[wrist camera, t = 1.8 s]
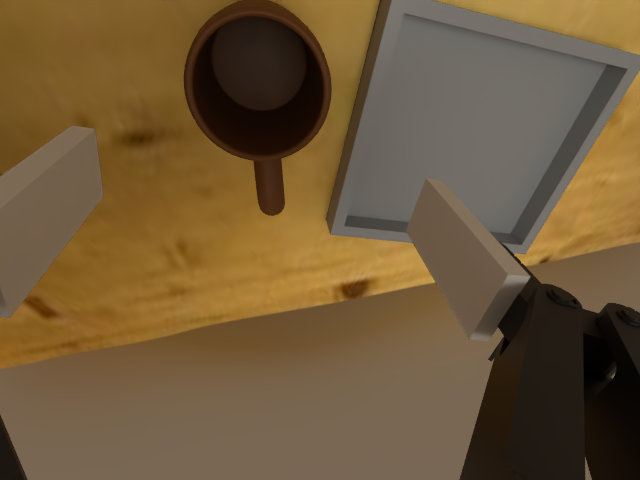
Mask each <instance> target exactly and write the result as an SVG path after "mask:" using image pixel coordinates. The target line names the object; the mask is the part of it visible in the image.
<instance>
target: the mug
mask: <svg viewBox="0 0 640 480" xmlns="http://www.w3.org/2000/svg"><path fill="white" fill-rule="evenodd" d="M184 89H185V96H186V99H187V103H188V106H189V109H190V111H191V114H192V116H193V118H194V119H195V121H196V123H197V125H198V126H199V127H200V129H201V130H202V132H203V133H204V134H205V135H206V136H207V137H208V138H209V139H210V140H211V141H212V142H213V143H215V144H216V145H217V146H218V147H220V148H221V149H223V150H224V151H226V152H228V153H230V154H232V155H235V156H237V157H240V158H244V159H248V160H254V170H255V180H256V189H257V197H258V203H259V207H260V209H261V211H262V212H263V213H265V214H267V215H271V216H274V215H277V214H279V213H280V212H282V210H283V209H284V205H285V199H284V186H283V174H282V163H281V158H284V157H287V156H289V155H292V154H293V153H295V152H297V151H299V150H300V149H302V148H303V147H305V146H306V145H307V144H308V143H309V142H310V141H311V140H312V139H313V138H314V137H315V136H316V134H317V133H318V132H319V130H320V128H321V127H322V125H323V123H324V121H325V119H326V116H327V113H328V110H329V106H330V101H331V77H330V72H329V68H328V65H327V61H326V58H325V56H324V53H323V51H322V49H321V46H320V44H319V43H318V41H317V39H316V38H315V36H314V35H313V33H312V32H311V31H310V30H309V28H308V27H307V26H306V25H305V24H304V23H303V22H302V21H301V20H300V19H299V18H297V17H296V16H295V15H294V14H293V13H291V12H290V11H288V10H287V9H286V8H284V7H282V6H280V5H278V4H276V3H273V2H271V1H267V0H243V1H239V2H236V3H234V4H232V5H230V6H227V7H226V8H224V9H223V10H221V11H219V12H218V13H216V14H215V15H214V16H212V17H211V18H210V19H209V20H208V21H207V22H206V23H205V24H204V26H203V27H202V28H201V29H200V30H199V32H198V34H197V35H196V37H195V39H194V41H193V43H192V46H191V48H190V50H189V53H188V56H187V60H186V64H185V70H184Z"/></svg>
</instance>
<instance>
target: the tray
mask: <svg viewBox="0 0 640 480" xmlns="http://www.w3.org/2000/svg"><path fill="white" fill-rule="evenodd" d="M639 70H640V55H638V54H634V53H630V52H626V51H622V50H619V49H615V48H611V47H607V46H603V45H600V44H596V43H592V42H588V41H585V40H581V39H577V38H573V37H569V36H566V35H562V34H558V33H554V32H550V31H547V30H543V29H539V28H535V27H531V26H528V25H524V24H520V23H516V22H512V21H509V20H505V19H501V18H497V17H493V16H490V15H486V14H482V13H478V12H474V11H471V10H467V9H463V8H459V7H455V6H452V5H448V4H444V3H440V2H436V1H433V0H380V3H379V7H378V11H377V16H376V20H375V24H374V28H373V32H372V36H371V40H370V44H369V48H368V52H367V56H366V60H365V64H364V68H363V72H362V76H361V80H360V84H359V88H358V92H357V96H356V100H355V104H354V108H353V112H352V117H351V121H350V125H349V129H348V133H347V137H346V141H345V145H344V149H343V153H342V157H341V161H340V165H339V169H338V173H337V177H336V181H335V185H334V189H333V193H332V197H331V201H330V205H329V209H328V214H327V218H326V221H327V224H328V228H329V231H330V235H339V236H349V237H358V238H368V239H378V240H388V241H398V242H408V243H413V242H412V241H411V239H410V237H409V236H408V234H407V232H406V229H407V226H408V224H409V221H410V219H411V216H412V213H413V211H414V208H415V206H416V203H417V201H418V198H419V195H420V193H421V190H422V188H423V185H424V183H425V180H426V178H429V179H436V180H442V181H443V182H444V183H445V184H446V185H447V186H448V187H449V189H450V190H451V191H452V192H453V193H454V194H455V195H456V196H457V197H458V198H459V199H460V201H461V202H462V203H463V204H464V205H465V206H466V207H467V208H468V209H469V210H470V211H471V212H472V214H473V215H474V216H475V217H476V218H477V219H478V220H479V221H480V222H481V223H482V224H483V225H484V227H485V228H486V229H487V230H488V231H489V232H490V233H491V234H492V235H493V236H494V237H495V239H497V240H498V241H500V242H501V243H502V244H504V245H505V246H507V247H508V249H509V250H510V251H511V252H512V253H517V254H526V252H527V251H528V249H529V247H530V246H531V244H532V243H533V241H534V239H535V238H536V236H537V235H538V233H539V231H540V230H541V228H542V227H543V225H544V223H545V222H546V220H547V219H548V217H549V215H550V214H551V212H552V210H553V209H554V207H555V206H556V204H557V202H558V201H559V199H560V198H561V196H562V194H563V193H564V191H565V190H566V188H567V186H568V185H569V183H570V181H571V180H572V178H573V177H574V175H575V173H576V172H577V170H578V169H579V167H580V165H581V164H582V162H583V161H584V159H585V157H586V156H587V154H588V153H589V151H590V149H591V148H592V146H593V144H594V143H595V141H596V140H597V138H598V136H599V135H600V133H601V132H602V130H603V128H604V127H605V125H606V124H607V122H608V120H609V119H610V117H611V115H612V114H613V112H614V111H615V109H616V107H617V106H618V104H619V103H620V101H621V99H622V98H623V96H624V95H625V93H626V91H627V90H628V88H629V87H630V85H631V83H632V82H633V80H634V78H635V77H636V75H637V74H638V72H639Z"/></svg>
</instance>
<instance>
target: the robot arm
mask: <svg viewBox="0 0 640 480" xmlns="http://www.w3.org/2000/svg"><path fill="white" fill-rule="evenodd" d="M103 197H104V196H103V187H102V179H101V171H100V163H99V155H98V147H97V139H96V130H95V129H93V128H86V127H79V126H73V125H71V126H70V127H69V128H67V129H66V130H64V131H63V132H62V133H60V134H59V135H57V136H56V137H55V138H53V139H52V140H50V141H49V142H48V143H46V144H45V145H43V146H42V147H41V148H39V149H38V150H36V151H35V152H34V153H32V154H31V155H30V156H28V157H27V158H25V159H24V160H23V161H21V162H20V163H18V164H17V165H16V166H14V167H13V168H11V169H10V170H9V171H7V172H6V173H4V174H3V175H2V176H0V317H9V318H11V316H12V315H13V314H14V312H15V311H16V310H17V309H18V307H19V306H20V305H21V303H22V302H23V301H24V299H25V298H26V297H27V296H28V294H29V293H30V292H31V290H32V289H33V288H34V286H35V285H36V284H37V282H38V281H39V280H40V279H41V277H42V276H43V275H44V273H45V272H46V271H47V269H48V268H49V267H50V266H51V264H52V263H53V262H54V260H55V259H56V258H57V256H58V255H59V254H60V253H61V251H62V250H63V249H64V247H65V246H66V245H67V243H68V242H69V241H70V240H71V238H72V237H73V236H74V234H75V233H76V232H77V230H78V229H79V228H80V227H81V225H82V224H83V223H84V221H85V220H86V219H87V217H88V216H89V215H90V214H91V212H92V211H93V210H94V208H95V207H96V206H97V204H98V203H99V202H100V201H101V199H102V198H103ZM406 232H407V234H408V236H409V237H410V239H411V241H412V242H413V244H414V246H415V248H416V249H417V251H418V253H419V254H420V256H421V258H422V260H423V261H424V263H425V265H426V267H427V268H428V270H429V272H430V273H431V275H432V277H433V279H434V280H435V282H436V284H437V285H438V287H439V289H440V291H441V292H442V294H443V296H444V297H445V299H446V301H447V303H448V304H449V306H450V308H451V309H452V311H453V313H454V315H455V316H456V318H457V319H458V321H459V323H460V325H461V327H462V328H463V330H464V332H465V334H466V335H467V337H468V339H471V340H490V338H491V337H492V335H493V334H494V332H495V331H496V329H497V328H499V329H500V331H501V332H502V333H503V335H504V337H503V338H502V340H501V341H500V343H499V344H498V346H497V347H496V349H495V350H494V352H493V353H492V354H491V356H490V358H489V359H488V360H490V361H492V360H493V359H494V362H493V366H492V369H491V372H490V376H489V379H488V382H487V386H486V389H485V393H484V397H483V400H482V403H481V407H480V410H479V414H478V417H477V421H476V424H475V428H474V431H473V435H472V438H471V442H470V445H469V449H468V452H467V455H466V459H465V462H464V466H463V469H462V473H461V476H460V480H585V457H586V460H587V464H588V467H589V471H590V474H591V477H592V480H640V313H639V312H637V311H635V310H634V309H632V308H630V307H625V306H623V305H620V304H616V303H608V304H607V305H606V306H605V307H604V308H603V309H602V310H601V312H600V313H595V312H591V311H588V310H585V309H583V308H582V306H581V304H580V302H579V301H578V300H577V299H576V298H575V297H574V296H572V295H571V294H570V293H568V292H567V291H565V290H563V289H561V288H559V287H556V286H554V285H550V284H541V283H540V282H539V281H538V280H537V279H536V277H534V275H533V274H532V273H531V272H530V271H529V270H528V269H527V268H526V267H525V266H524V265H523V264H521V261H520V260H519V259H518V258H517V257H515V256H514V254H513V253H512V252H511V251H510V250H509V249H508V247H507V246H505V245H504V244H502V243H501V242H500V241H498V240H497V239H495V237H494V236H493V235H492V234H491V233H490V232H489V231H488V230H487V229H486V228H485V227H484V225H483V224H482V223H481V222H480V221H479V220H478V219H477V218H476V217H475V216H474V215H473V214H472V212H471V211H470V210H469V209H468V208H467V207H466V206H465V205H464V204H463V203H462V202H461V201H460V199H459V198H458V197H457V196H456V195H455V194H454V193H453V192H452V191H451V190H450V189H449V187H448V186H447V185H446V184H445V183H444V182H443V181H442V180H436V179H429V178H426V180H425V183H424V185H423V188H422V190H421V193H420V195H419V198H418V201H417V203H416V206H415V208H414V211H413V213H412V216H411V219H410V221H409V224H408V226H407V229H406ZM615 372H616V373H615ZM614 373H615V376H614V378H613V379H612V378H611V376H612V375H613V374H614ZM0 480H27V477H26V475H25V473H24V470H23V468H22V466H21V463H20V461H19V458H18V456H17V454H16V451H15V449H14V446H13V444H12V442H11V440H10V437H9V434H8V432H7V430H6V427H5V425H4V422H3V420H2V418H1V415H0Z"/></svg>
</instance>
